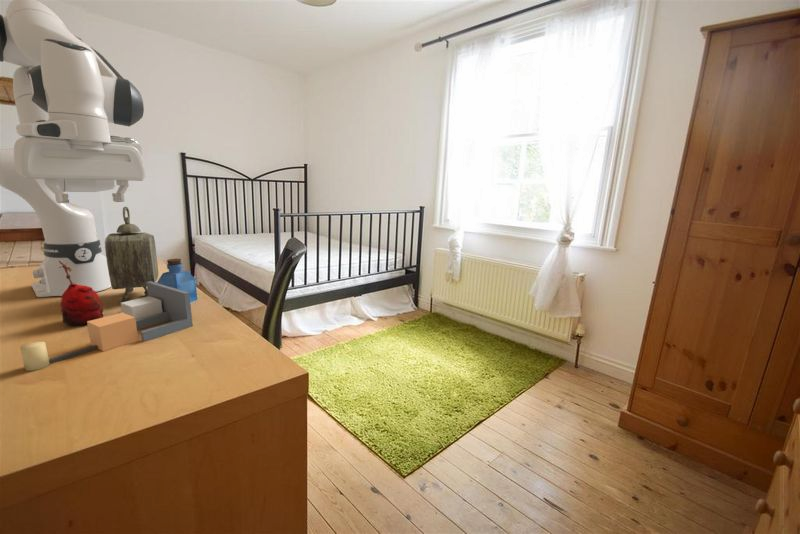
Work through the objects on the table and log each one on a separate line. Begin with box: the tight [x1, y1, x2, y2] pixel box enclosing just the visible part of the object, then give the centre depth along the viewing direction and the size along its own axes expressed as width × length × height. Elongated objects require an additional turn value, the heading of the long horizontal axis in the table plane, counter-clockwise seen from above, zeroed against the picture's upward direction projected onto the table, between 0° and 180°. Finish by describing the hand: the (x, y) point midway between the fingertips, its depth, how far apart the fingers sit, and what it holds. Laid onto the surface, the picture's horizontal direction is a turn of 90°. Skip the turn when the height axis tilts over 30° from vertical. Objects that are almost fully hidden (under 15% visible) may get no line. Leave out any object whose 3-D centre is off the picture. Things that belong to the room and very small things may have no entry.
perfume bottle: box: [156, 258, 198, 304], centre depth 93 cm, size 6×6×12 cm
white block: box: [120, 296, 163, 320], centre depth 81 cm, size 5×6×5 cm
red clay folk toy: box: [59, 261, 104, 326], centre depth 79 cm, size 8×7×15 cm
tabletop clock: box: [104, 206, 159, 304], centre depth 96 cm, size 14×9×25 cm, turn 29°
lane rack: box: [105, 281, 194, 342], centre depth 79 cm, size 16×10×8 cm, turn 61°
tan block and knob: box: [20, 312, 139, 372], centre depth 66 cm, size 5×16×5 cm, turn 151°
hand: (92, 202), depth 74 cm, fingers open, 8 cm apart
